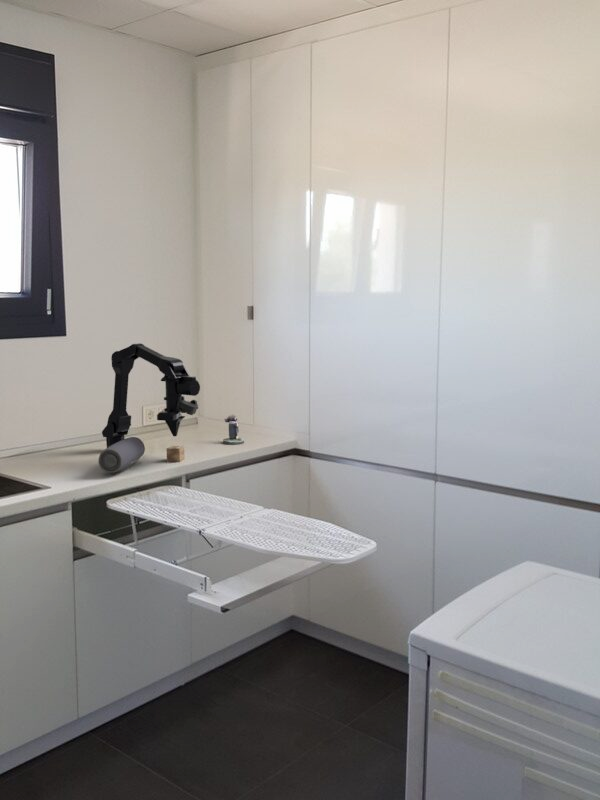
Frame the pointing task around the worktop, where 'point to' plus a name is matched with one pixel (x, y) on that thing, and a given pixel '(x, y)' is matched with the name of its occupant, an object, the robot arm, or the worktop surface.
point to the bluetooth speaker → (121, 455)
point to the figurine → (233, 432)
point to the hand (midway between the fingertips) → (175, 436)
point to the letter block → (175, 453)
